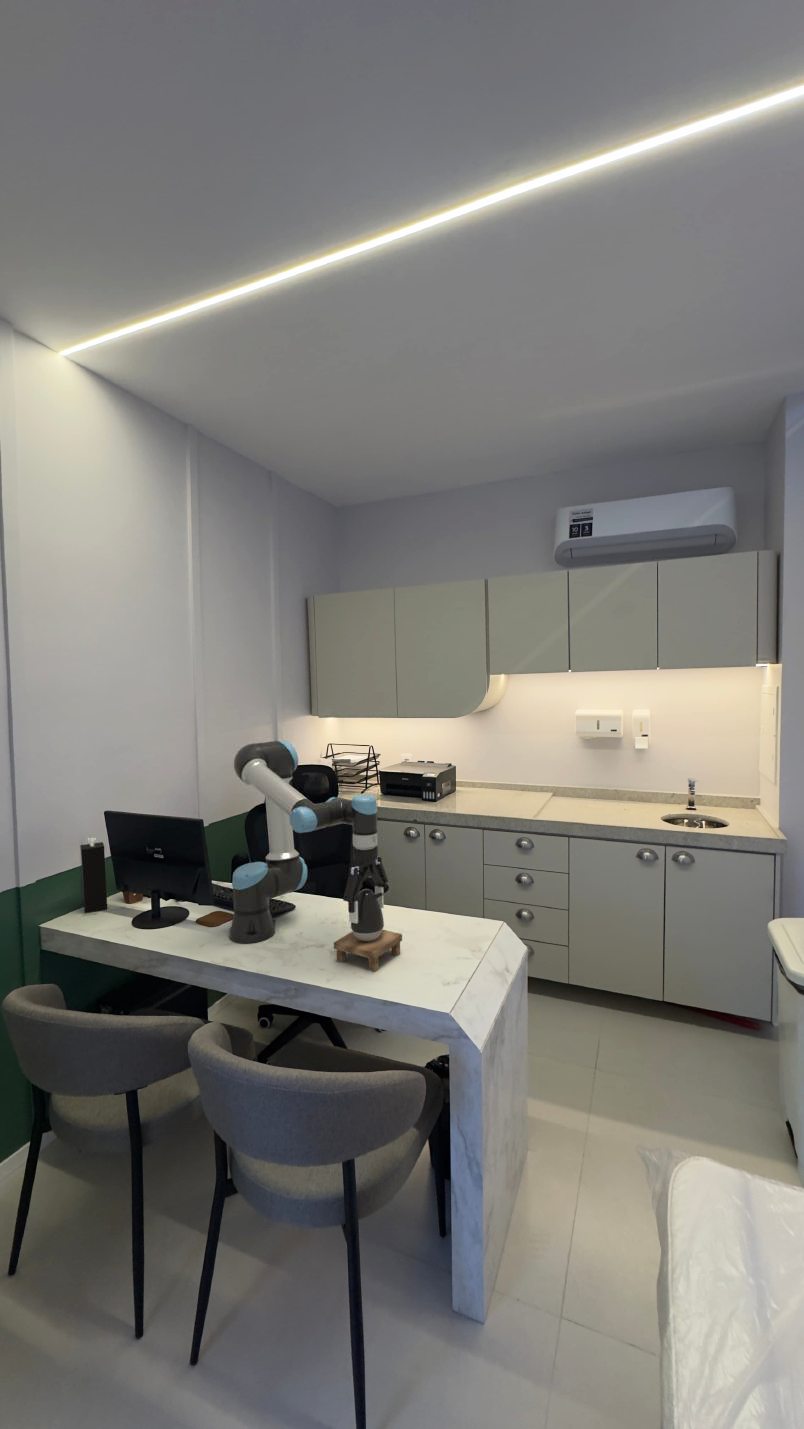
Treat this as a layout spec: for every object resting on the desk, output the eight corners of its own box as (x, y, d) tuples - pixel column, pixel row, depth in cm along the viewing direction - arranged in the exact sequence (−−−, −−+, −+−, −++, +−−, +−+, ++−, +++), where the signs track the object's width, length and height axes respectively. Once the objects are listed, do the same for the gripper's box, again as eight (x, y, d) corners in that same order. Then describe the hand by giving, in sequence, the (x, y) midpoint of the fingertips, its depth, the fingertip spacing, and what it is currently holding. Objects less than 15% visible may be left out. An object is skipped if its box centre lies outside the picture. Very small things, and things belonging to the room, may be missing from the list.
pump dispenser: (380, 945, 180) (378, 895, 179) (347, 944, 182) (345, 894, 182) (388, 931, 190) (386, 884, 189) (356, 930, 192) (354, 883, 192)
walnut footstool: (334, 961, 184) (333, 942, 184) (363, 943, 197) (362, 924, 197) (375, 973, 176) (374, 952, 176) (402, 952, 189) (402, 934, 189)
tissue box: (107, 909, 234) (103, 837, 232) (84, 913, 230) (80, 841, 228) (106, 903, 241) (102, 833, 239) (83, 907, 237) (79, 836, 235)
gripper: (350, 858, 172) (352, 931, 174) (397, 838, 193) (399, 903, 195) (329, 855, 176) (331, 926, 178) (378, 835, 197) (379, 899, 199)
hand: (367, 914), depth 186 cm, fingers open, 13 cm apart
